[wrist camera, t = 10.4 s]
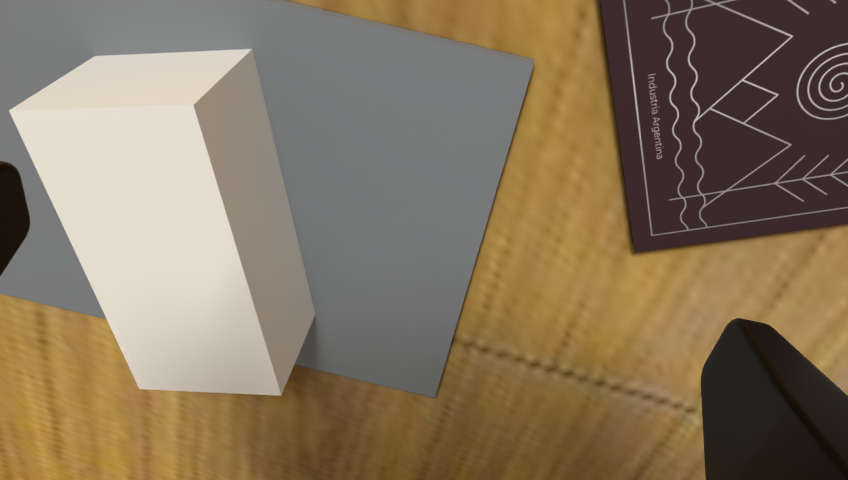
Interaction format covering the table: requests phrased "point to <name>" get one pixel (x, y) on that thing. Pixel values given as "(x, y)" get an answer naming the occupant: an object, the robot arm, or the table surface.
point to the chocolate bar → (729, 116)
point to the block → (177, 215)
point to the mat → (309, 160)
